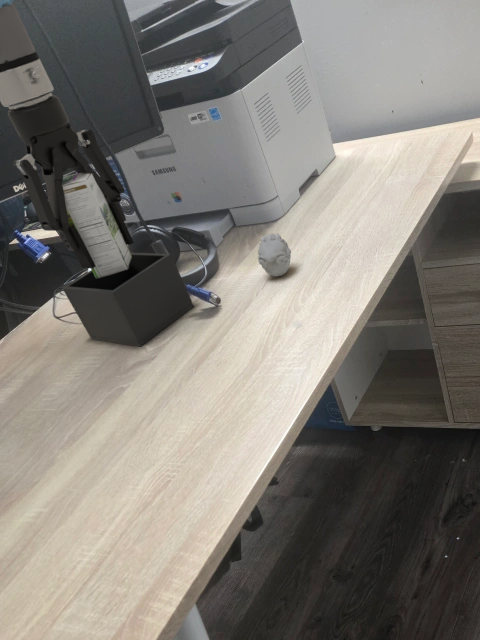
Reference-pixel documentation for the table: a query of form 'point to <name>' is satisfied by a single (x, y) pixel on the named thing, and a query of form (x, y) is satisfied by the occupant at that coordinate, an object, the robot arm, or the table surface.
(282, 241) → the grey decorated egg
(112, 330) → the open box
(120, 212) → the robot arm
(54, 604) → the table surface
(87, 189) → the syrup box
